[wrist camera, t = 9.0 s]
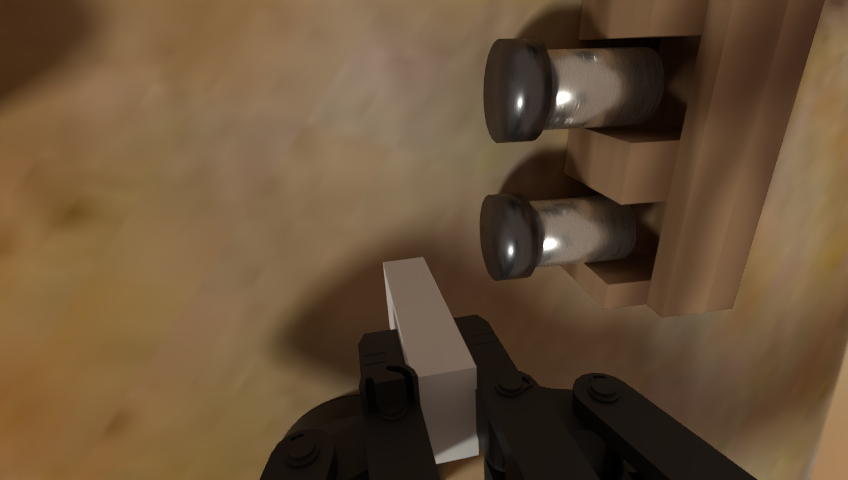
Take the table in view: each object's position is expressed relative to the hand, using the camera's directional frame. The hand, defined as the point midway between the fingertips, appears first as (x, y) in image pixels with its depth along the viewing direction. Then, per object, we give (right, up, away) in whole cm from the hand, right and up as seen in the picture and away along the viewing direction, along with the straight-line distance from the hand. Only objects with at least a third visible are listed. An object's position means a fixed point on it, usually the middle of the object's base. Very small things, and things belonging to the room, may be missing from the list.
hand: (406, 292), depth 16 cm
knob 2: (+9, +4, +15) cm, 18 cm away
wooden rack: (+14, +13, +14) cm, 24 cm away
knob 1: (+9, +12, +12) cm, 19 cm away
